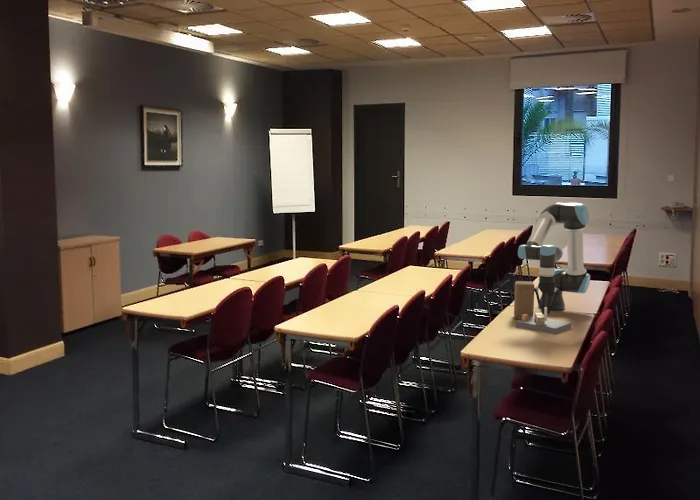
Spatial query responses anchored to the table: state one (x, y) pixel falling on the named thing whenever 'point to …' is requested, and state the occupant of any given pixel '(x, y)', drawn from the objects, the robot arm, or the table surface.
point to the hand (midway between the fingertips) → (545, 320)
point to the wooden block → (523, 299)
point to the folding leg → (539, 318)
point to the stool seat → (549, 326)
